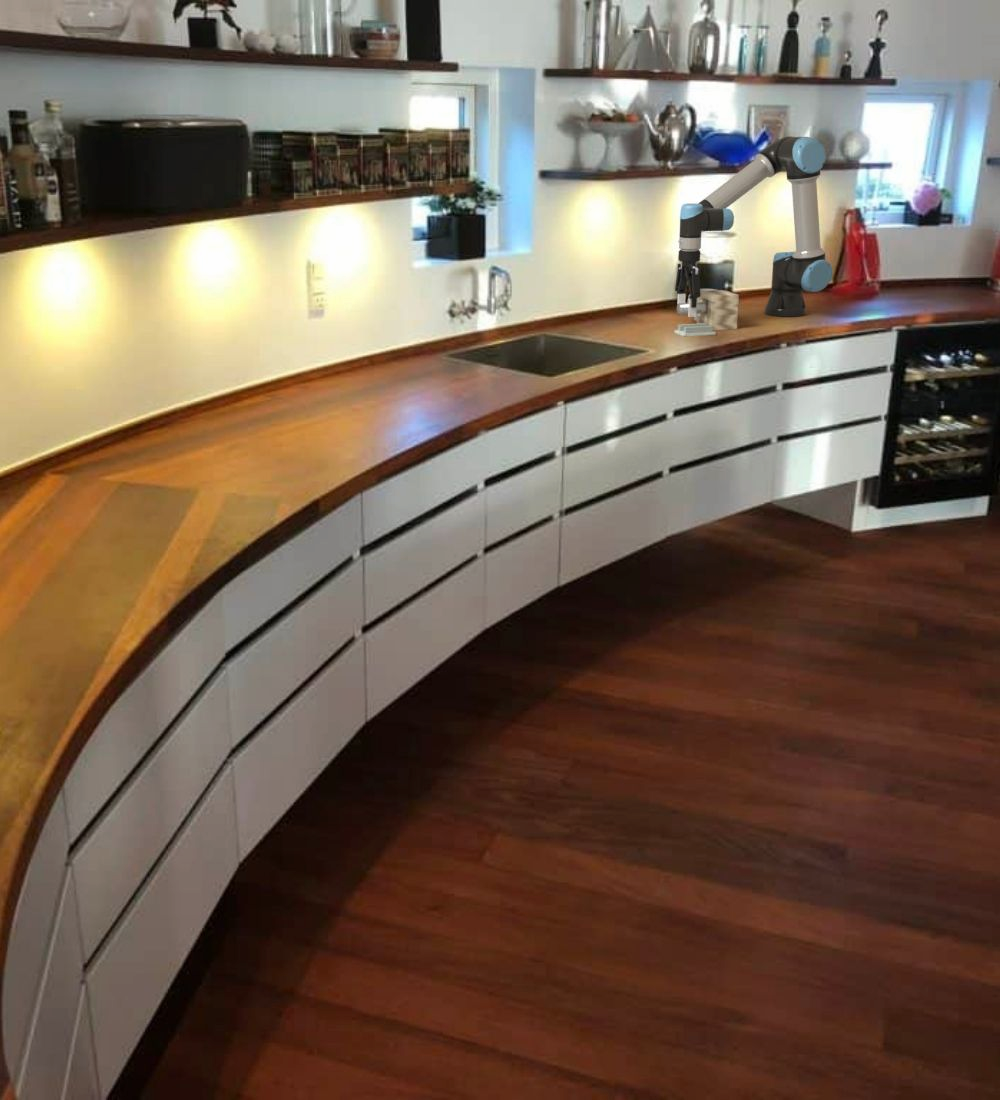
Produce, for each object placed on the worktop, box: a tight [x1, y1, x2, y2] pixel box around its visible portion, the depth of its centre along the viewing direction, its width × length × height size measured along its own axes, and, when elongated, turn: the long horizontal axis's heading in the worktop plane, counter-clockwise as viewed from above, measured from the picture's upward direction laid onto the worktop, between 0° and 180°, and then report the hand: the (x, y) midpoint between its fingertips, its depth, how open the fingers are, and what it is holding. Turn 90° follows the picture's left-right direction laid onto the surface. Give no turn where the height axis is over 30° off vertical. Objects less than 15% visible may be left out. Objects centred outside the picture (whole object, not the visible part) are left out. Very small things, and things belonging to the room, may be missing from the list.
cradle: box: [673, 322, 717, 337], centre depth 423 cm, size 12×8×3 cm, turn 106°
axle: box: [676, 302, 708, 316], centre depth 433 cm, size 22×4×4 cm, turn 106°
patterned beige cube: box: [696, 289, 740, 331], centre depth 434 cm, size 10×12×12 cm
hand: (686, 314), depth 431 cm, fingers open, 9 cm apart
